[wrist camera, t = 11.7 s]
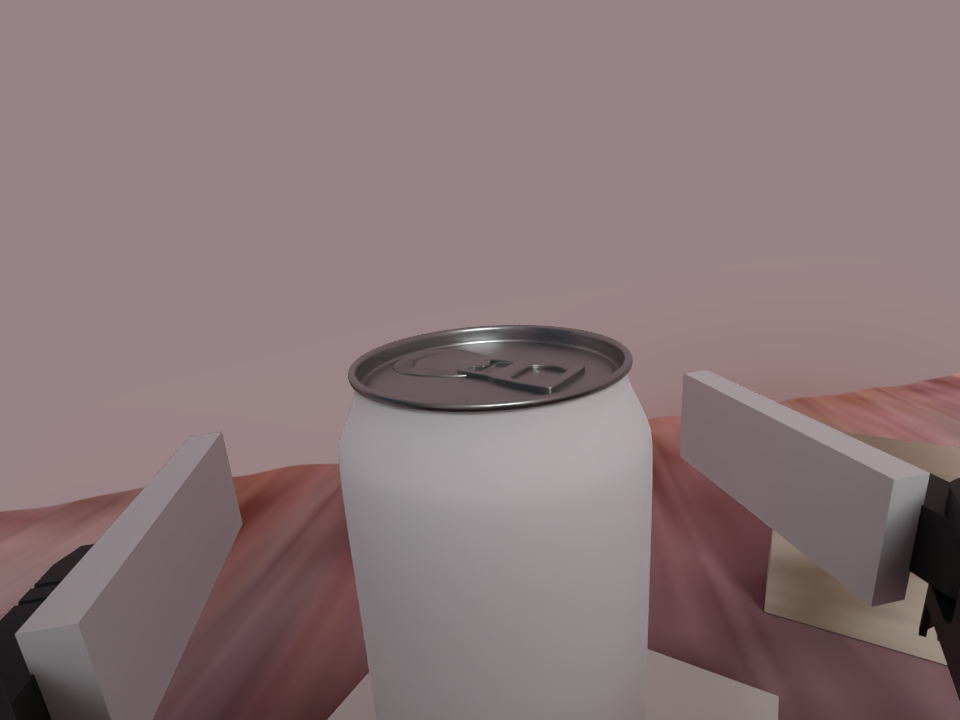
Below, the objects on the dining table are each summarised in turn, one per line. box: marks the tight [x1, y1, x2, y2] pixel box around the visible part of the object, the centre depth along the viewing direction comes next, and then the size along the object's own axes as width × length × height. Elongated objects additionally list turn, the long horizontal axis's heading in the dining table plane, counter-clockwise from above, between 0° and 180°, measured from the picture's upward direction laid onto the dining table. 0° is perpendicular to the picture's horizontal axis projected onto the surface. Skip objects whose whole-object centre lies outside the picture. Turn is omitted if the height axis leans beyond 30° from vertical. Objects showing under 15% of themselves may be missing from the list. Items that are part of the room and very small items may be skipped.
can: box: [339, 325, 652, 720], centre depth 12 cm, size 6×6×12 cm
